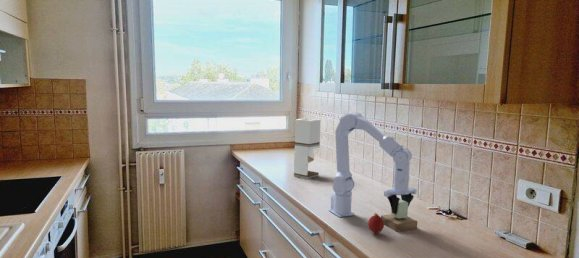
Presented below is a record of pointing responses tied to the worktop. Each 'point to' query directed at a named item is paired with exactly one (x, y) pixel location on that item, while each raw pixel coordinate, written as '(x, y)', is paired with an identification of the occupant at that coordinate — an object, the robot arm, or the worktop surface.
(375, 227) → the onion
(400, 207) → the sage block
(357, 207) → the worktop surface
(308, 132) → the white coffee machine
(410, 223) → the walnut base
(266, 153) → the worktop surface
